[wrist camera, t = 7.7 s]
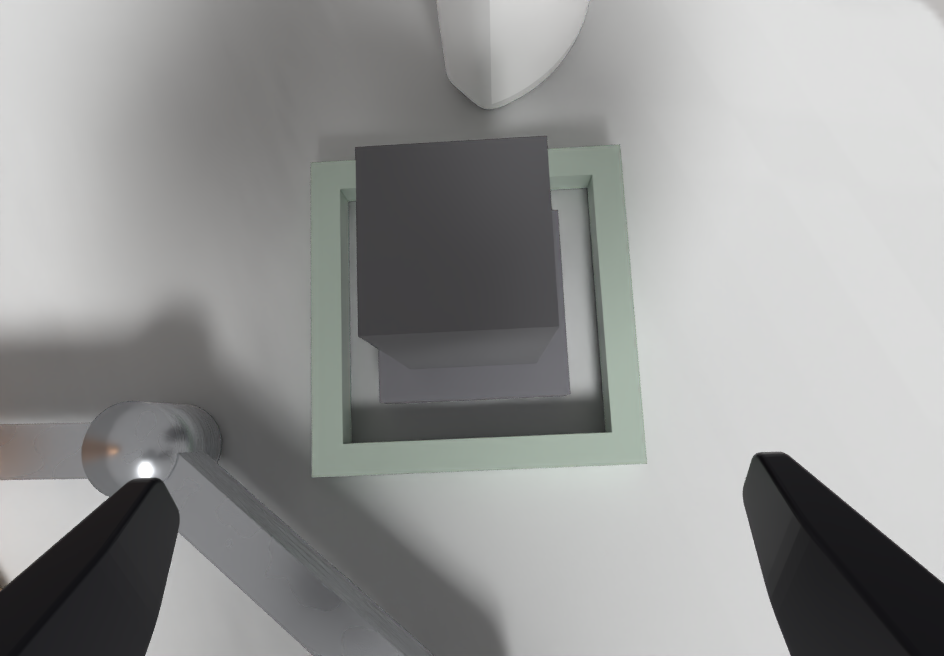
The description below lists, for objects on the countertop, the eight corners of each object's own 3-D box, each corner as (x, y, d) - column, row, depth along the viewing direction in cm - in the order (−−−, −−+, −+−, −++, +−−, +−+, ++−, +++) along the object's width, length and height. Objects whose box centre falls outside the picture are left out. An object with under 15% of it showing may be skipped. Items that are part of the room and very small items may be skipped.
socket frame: (638, 461, 21) (647, 463, 19) (322, 474, 21) (311, 477, 20) (613, 159, 22) (620, 144, 21) (320, 176, 23) (310, 162, 21)
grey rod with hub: (-98, 455, 21) (-468, 474, 13) (58, 282, 22) (-201, 198, 14) (374, 914, 19) (279, 1295, 10) (535, 698, 19) (562, 899, 11)
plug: (565, 395, 21) (614, 374, 12) (387, 403, 21) (308, 388, 12) (554, 224, 22) (592, 87, 13) (383, 233, 22) (308, 105, 13)
